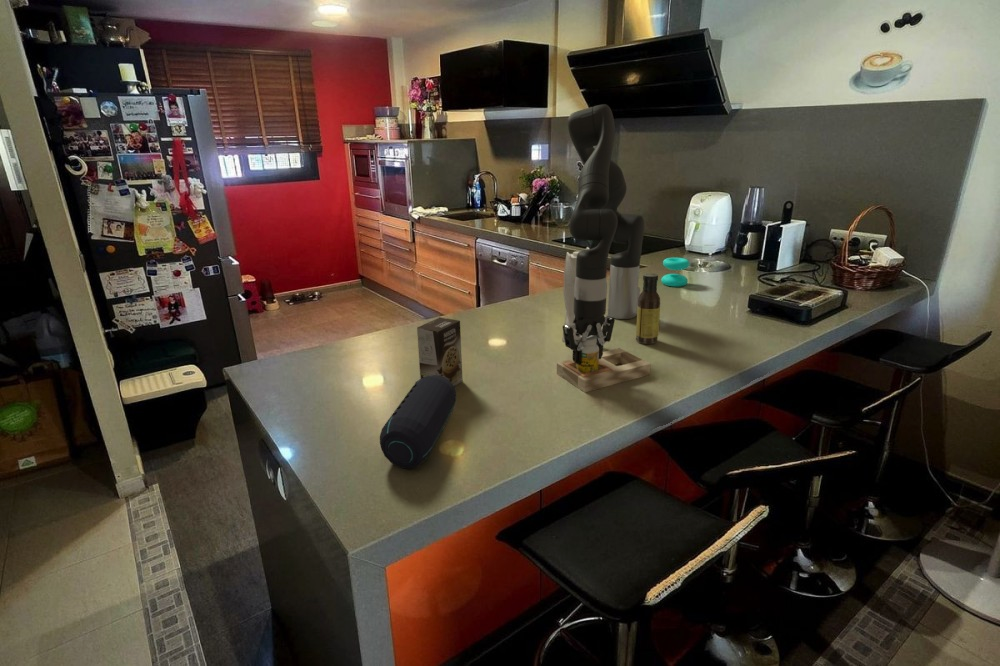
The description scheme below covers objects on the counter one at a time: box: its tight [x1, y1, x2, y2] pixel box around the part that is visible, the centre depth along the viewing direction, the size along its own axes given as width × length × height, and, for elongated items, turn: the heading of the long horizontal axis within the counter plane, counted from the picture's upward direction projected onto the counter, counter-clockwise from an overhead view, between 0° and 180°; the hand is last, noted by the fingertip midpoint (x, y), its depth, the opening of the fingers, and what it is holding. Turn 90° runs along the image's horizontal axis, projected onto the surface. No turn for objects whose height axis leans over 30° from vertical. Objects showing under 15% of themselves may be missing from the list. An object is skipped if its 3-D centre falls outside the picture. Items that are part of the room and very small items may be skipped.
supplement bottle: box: [576, 335, 599, 374], centre depth 130 cm, size 5×5×10 cm
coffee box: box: [416, 317, 464, 387], centre depth 127 cm, size 9×6×16 cm
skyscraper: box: [561, 246, 590, 343], centre depth 151 cm, size 8×8×28 cm
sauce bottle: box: [635, 272, 661, 345], centre depth 152 cm, size 6×6×20 cm
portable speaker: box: [379, 375, 457, 470], centre depth 106 cm, size 25×10×10 cm, turn 170°
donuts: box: [660, 257, 691, 288], centre depth 211 cm, size 10×10×10 cm
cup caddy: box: [556, 347, 651, 393], centre depth 134 cm, size 20×12×3 cm, turn 117°
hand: (587, 360), depth 131 cm, fingers closed on supplement bottle, 5 cm apart
